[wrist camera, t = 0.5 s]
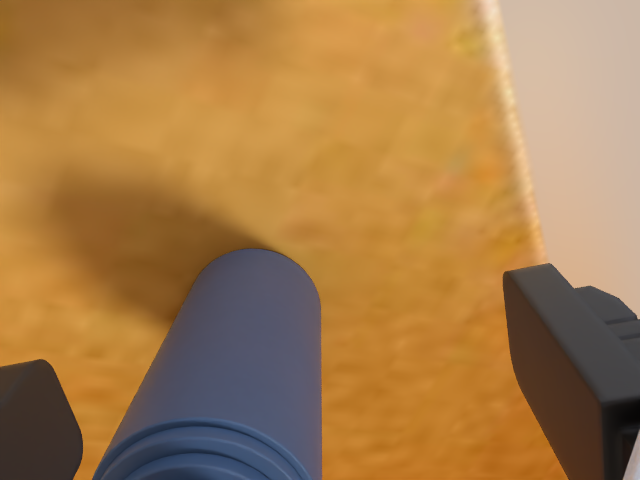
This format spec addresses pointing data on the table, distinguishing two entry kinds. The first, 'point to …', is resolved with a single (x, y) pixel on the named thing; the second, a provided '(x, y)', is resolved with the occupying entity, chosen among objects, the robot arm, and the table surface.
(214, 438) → the water bottle
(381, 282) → the table surface
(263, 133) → the table surface
